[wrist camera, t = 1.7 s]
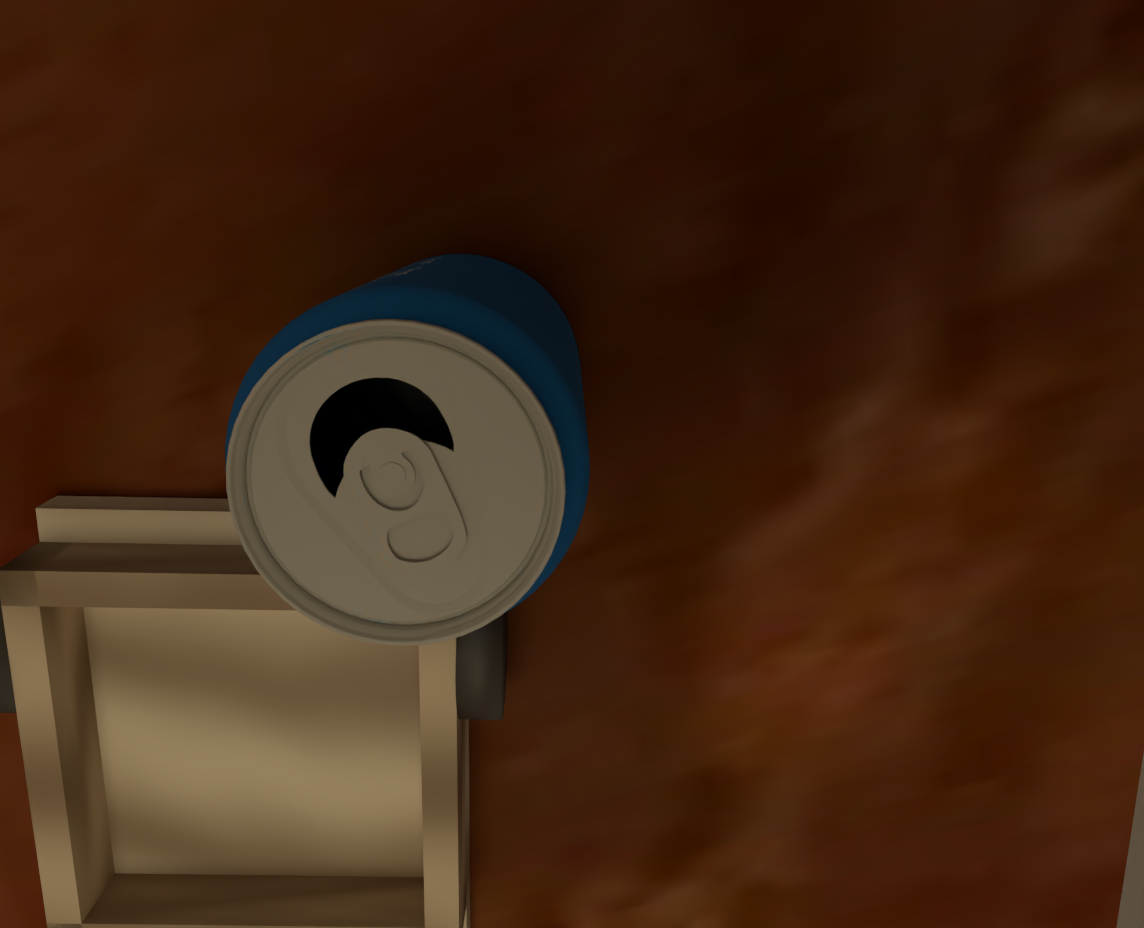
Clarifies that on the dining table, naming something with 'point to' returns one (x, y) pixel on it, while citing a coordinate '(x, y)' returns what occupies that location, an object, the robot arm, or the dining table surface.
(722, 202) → the dining table surface
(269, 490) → the beverage can
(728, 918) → the dining table surface
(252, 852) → the toy truck
